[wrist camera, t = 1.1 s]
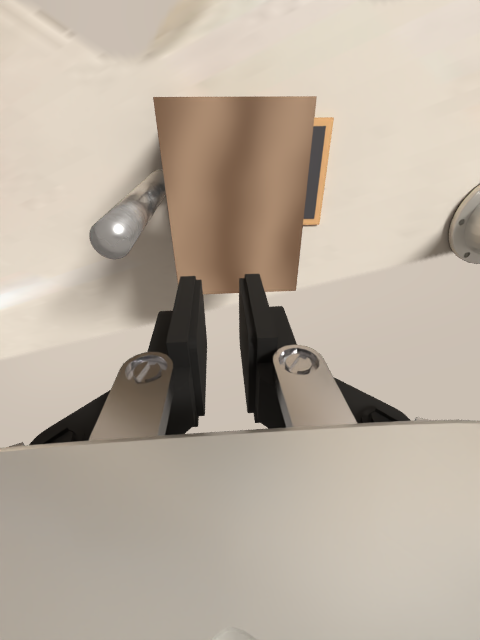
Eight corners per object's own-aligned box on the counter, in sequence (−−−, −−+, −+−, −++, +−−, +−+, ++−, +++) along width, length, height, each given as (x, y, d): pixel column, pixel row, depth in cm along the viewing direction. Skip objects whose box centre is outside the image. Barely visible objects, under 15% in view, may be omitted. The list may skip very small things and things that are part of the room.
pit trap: (332, 117, 35) (334, 117, 34) (318, 223, 41) (319, 224, 41) (280, 118, 34) (281, 117, 34) (274, 224, 41) (275, 225, 41)
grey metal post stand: (274, 127, 34) (339, 138, 16) (270, 221, 39) (314, 304, 22) (142, 129, 33) (62, 142, 15) (157, 224, 39) (110, 312, 21)
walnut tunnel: (275, 105, 34) (316, 96, 20) (269, 233, 42) (295, 290, 28) (178, 105, 33) (153, 97, 19) (191, 235, 41) (179, 295, 27)
